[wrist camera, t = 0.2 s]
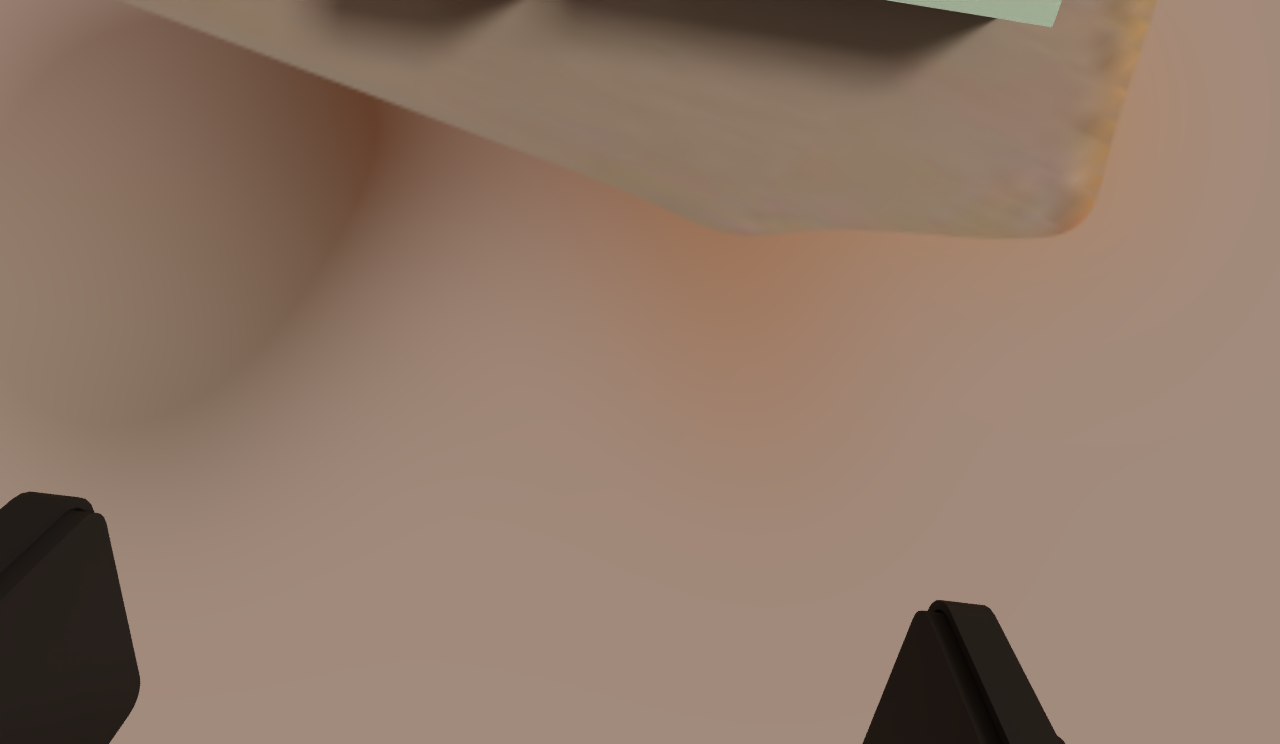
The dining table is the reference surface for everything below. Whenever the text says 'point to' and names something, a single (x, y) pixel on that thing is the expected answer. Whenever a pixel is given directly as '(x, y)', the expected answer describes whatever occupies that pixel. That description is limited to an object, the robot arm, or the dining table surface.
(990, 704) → the robot arm
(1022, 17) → the tote
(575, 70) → the dining table surface
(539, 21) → the dining table surface
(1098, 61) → the dining table surface
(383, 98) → the dining table surface
